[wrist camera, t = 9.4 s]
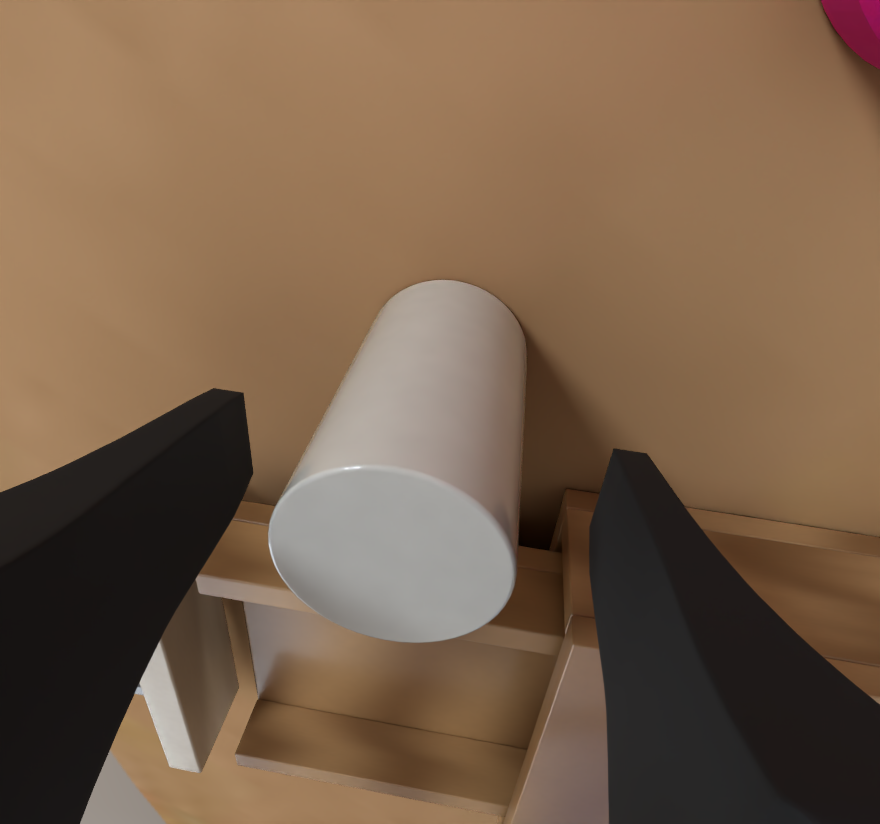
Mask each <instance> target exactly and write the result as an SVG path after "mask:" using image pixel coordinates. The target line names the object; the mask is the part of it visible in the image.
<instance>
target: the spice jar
mask: <svg viewBox="0 0 880 824" xmlns="http://www.w3.org/2000/svg"><path fill="white" fill-rule="evenodd" d="M526 372H527V347H526V341H525V337H524V334H523V331H522V329H521V327H520V325H519V323H518V321H517V319H516V318H515V317H514V315H513V314H512V312H511V311H510V310H509V309H508V308H507V307H506V306H505V305H504V304H503V303H502V302H501V301H500V300H499V299H497V298H496V297H495V296H493V295H492V294H490V293H488V292H487V291H485V290H483V289H481V288H479V287H477V286H474V285H471V284H468V283H464V282H459V281H453V280H432V281H427V282H421V283H418V284H415V285H412V286H410V287H408V288H406V289H404V290H402V291H400V292H399V293H397V294H396V295H394V296H393V297H392V298H391V299H390V300H389V301H388V302H386V304H385V305H384V306H383V307H382V308H381V310H380V311H379V313H378V315H377V316H376V318H375V320H374V322H373V324H372V325H371V327H370V329H369V331H368V333H367V335H366V337H365V339H364V340H363V342H362V344H361V346H360V348H359V350H358V352H357V354H356V355H355V357H354V359H353V361H352V363H351V365H350V367H349V369H348V370H347V372H346V374H345V376H344V378H343V380H342V382H341V384H340V385H339V387H338V389H337V391H336V393H335V395H334V397H333V399H332V401H331V402H330V404H329V406H328V408H327V410H326V412H325V414H324V416H323V417H322V419H321V421H320V423H319V425H318V427H317V429H316V431H315V432H314V434H313V436H312V438H311V440H310V442H309V444H308V446H307V447H306V449H305V451H304V453H303V455H302V457H301V459H300V461H299V462H298V464H297V466H296V468H295V470H294V472H293V474H292V476H291V477H290V479H289V481H288V483H287V485H286V487H285V489H284V491H283V493H282V494H281V496H280V498H279V500H278V502H277V504H276V506H275V508H274V510H273V512H272V515H271V518H270V522H269V528H268V545H269V550H270V554H271V558H272V560H273V563H274V566H275V568H276V570H277V571H278V573H279V575H280V577H281V578H282V580H283V581H284V582H285V584H286V585H287V587H288V588H289V589H290V590H291V591H292V592H293V593H294V594H295V595H296V596H297V597H298V598H299V599H300V600H301V601H302V602H303V603H304V604H306V605H307V606H308V607H309V608H311V609H312V610H313V611H315V612H316V613H318V614H319V615H321V616H323V617H324V618H326V619H328V620H329V621H331V622H333V623H335V624H337V625H339V626H341V627H343V628H346V629H348V630H351V631H354V632H356V633H359V634H362V635H366V636H369V637H373V638H377V639H382V640H387V641H394V642H404V643H430V642H438V641H444V640H449V639H454V638H457V637H460V636H463V635H466V634H469V633H471V632H473V631H475V630H477V629H479V628H481V627H482V626H484V625H486V624H487V623H489V622H490V621H491V620H492V619H493V618H495V617H496V616H497V615H498V614H499V613H500V611H501V610H502V609H503V608H504V607H505V605H506V604H507V602H508V600H509V599H510V597H511V595H512V593H513V590H514V587H515V584H516V578H517V569H518V547H519V525H520V503H521V481H522V459H523V438H524V416H525V394H526Z"/></svg>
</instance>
